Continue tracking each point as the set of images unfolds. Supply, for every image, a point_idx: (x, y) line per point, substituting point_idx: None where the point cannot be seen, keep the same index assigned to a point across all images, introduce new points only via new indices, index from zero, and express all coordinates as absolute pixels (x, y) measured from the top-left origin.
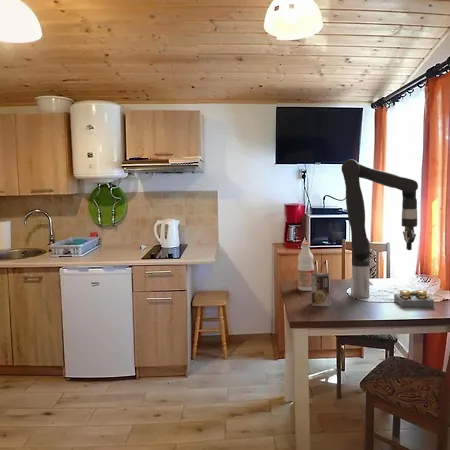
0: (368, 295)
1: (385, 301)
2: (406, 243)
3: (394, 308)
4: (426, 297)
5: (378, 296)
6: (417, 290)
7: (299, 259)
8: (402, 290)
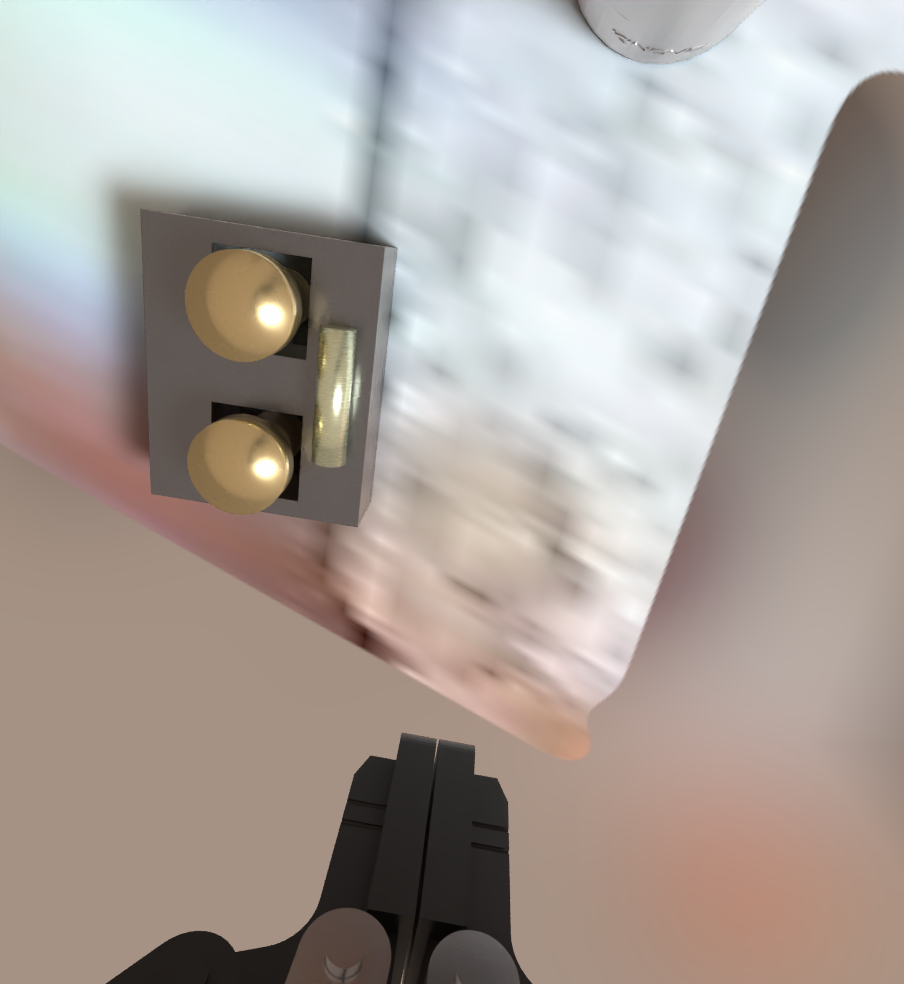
0: (592, 22)
1: (403, 155)
2: (459, 902)
3: (182, 136)
4: None
5: (582, 163)
6: (267, 448)
7: None
8: (280, 297)
